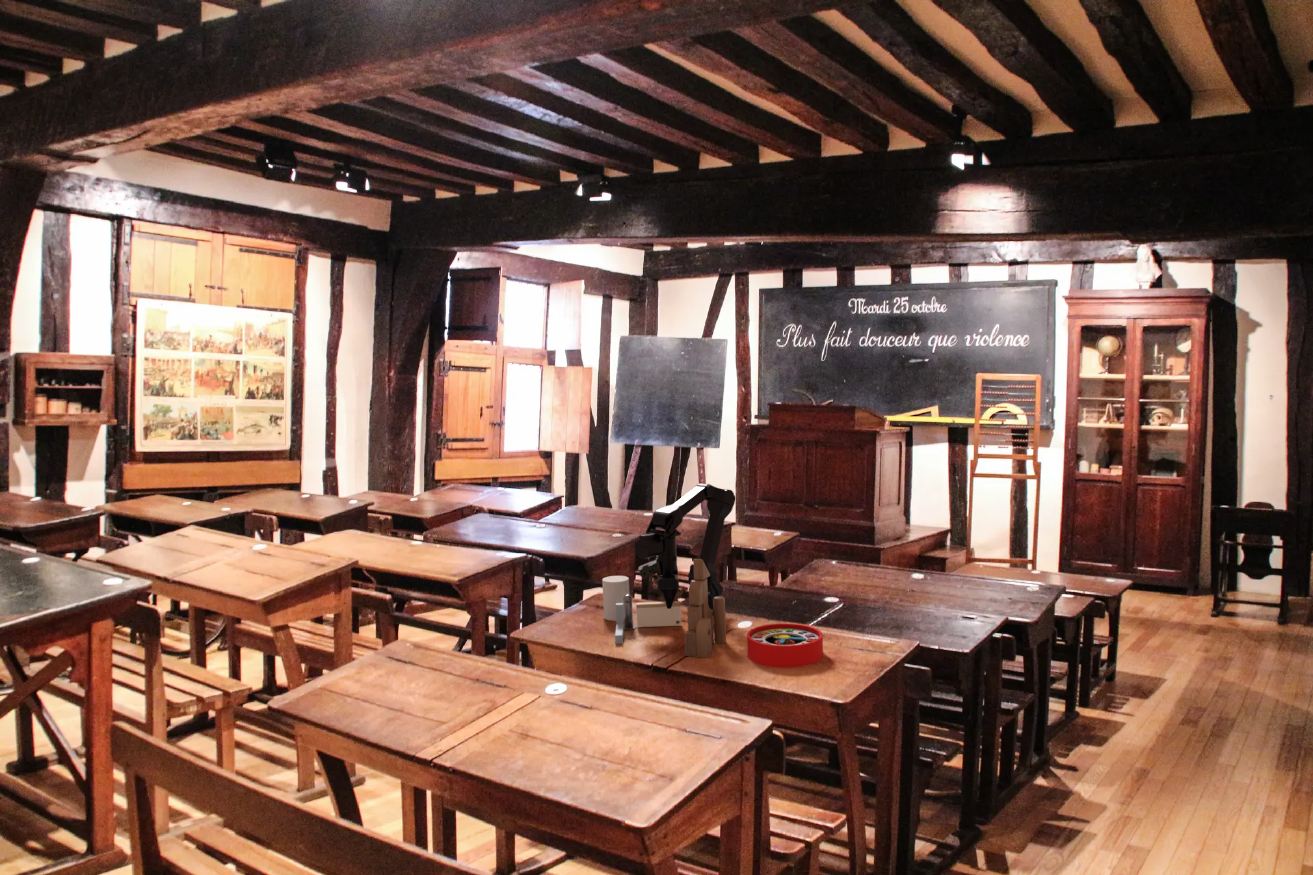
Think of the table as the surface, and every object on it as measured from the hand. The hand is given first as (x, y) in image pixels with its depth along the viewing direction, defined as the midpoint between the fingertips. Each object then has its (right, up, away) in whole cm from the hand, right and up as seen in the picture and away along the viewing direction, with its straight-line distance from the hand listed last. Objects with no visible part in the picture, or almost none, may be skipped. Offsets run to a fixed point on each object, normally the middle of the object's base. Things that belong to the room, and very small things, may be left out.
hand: (668, 604), depth 289 cm
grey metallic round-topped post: (-12, -7, +1) cm, 14 cm away
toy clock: (+31, -9, -29) cm, 43 cm away
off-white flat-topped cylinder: (-16, -6, +13) cm, 21 cm away
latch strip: (-14, -8, -8) cm, 18 cm away
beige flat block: (-3, -6, +1) cm, 7 cm away
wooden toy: (+10, -9, -21) cm, 25 cm away
